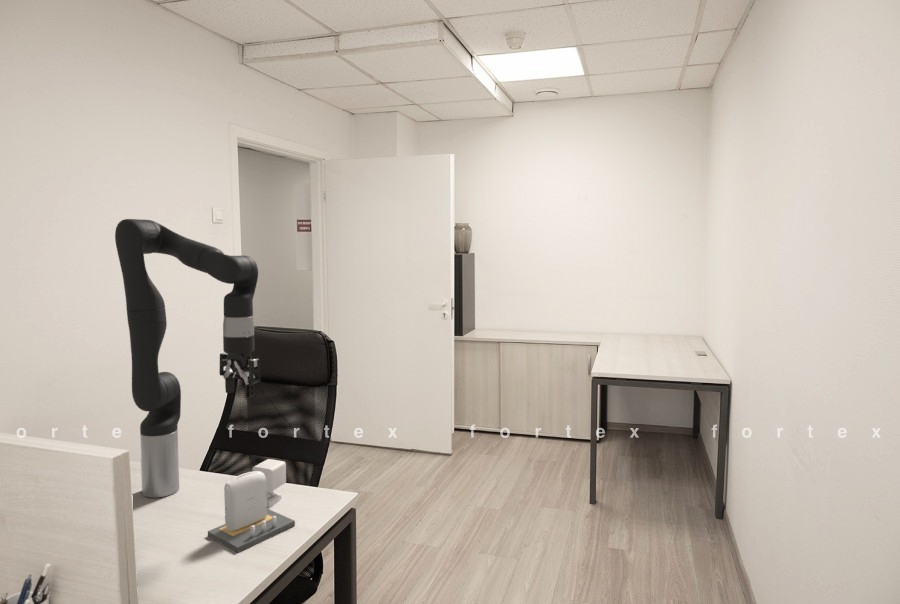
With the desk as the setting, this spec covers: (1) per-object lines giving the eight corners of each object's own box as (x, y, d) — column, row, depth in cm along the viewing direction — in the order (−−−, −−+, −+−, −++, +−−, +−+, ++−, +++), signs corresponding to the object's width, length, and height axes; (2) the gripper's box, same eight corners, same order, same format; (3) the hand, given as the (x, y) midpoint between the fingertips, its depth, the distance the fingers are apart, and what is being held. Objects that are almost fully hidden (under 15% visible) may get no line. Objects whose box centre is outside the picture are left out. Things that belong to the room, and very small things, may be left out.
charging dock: (207, 536, 137) (207, 521, 137) (264, 511, 150) (264, 498, 150) (237, 552, 130) (237, 536, 130) (294, 525, 143) (294, 511, 143)
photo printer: (231, 533, 136) (230, 482, 135) (222, 527, 139) (221, 478, 137) (269, 518, 144) (269, 470, 143) (260, 512, 147) (259, 465, 145)
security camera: (286, 496, 159) (286, 461, 158) (270, 507, 153) (270, 470, 152) (267, 493, 161) (266, 458, 160) (250, 503, 155) (250, 467, 154)
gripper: (209, 332, 149) (210, 393, 151) (242, 338, 141) (243, 403, 142) (235, 329, 155) (236, 388, 157) (268, 334, 147) (269, 397, 148)
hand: (239, 395), depth 150 cm, fingers open, 8 cm apart
